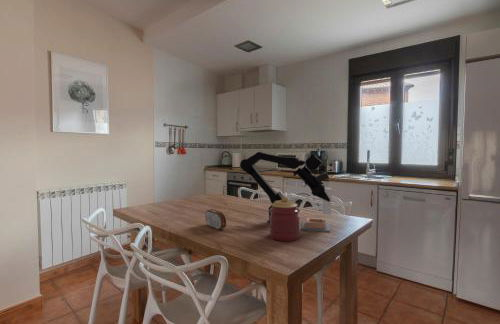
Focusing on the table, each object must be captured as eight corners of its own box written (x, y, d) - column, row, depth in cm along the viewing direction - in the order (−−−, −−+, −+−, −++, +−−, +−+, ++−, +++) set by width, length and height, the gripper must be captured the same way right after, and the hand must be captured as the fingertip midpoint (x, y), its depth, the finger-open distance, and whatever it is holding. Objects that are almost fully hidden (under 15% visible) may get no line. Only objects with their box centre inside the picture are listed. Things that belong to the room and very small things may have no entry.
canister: (283, 244, 105) (284, 200, 105) (263, 235, 116) (263, 195, 115) (305, 237, 113) (306, 197, 112) (284, 230, 123) (285, 193, 123)
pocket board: (301, 230, 124) (301, 223, 124) (303, 222, 137) (303, 216, 137) (329, 232, 121) (329, 225, 121) (329, 224, 133) (329, 218, 133)
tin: (226, 230, 124) (226, 212, 123) (221, 231, 122) (221, 213, 121) (209, 223, 135) (209, 207, 135) (204, 225, 133) (204, 208, 133)
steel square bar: (322, 213, 129) (323, 188, 129) (322, 212, 133) (322, 187, 132) (330, 214, 128) (331, 189, 128) (330, 212, 132) (331, 188, 131)
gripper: (319, 167, 121) (344, 192, 119) (319, 165, 140) (340, 187, 137) (301, 183, 124) (325, 208, 122) (303, 179, 142) (324, 201, 140)
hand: (329, 200), depth 130 cm, fingers closed on steel square bar, 4 cm apart
